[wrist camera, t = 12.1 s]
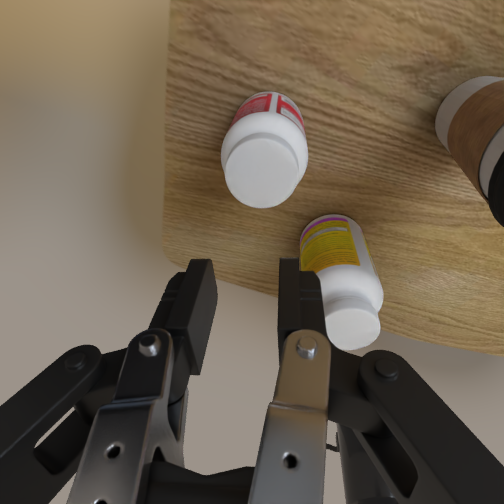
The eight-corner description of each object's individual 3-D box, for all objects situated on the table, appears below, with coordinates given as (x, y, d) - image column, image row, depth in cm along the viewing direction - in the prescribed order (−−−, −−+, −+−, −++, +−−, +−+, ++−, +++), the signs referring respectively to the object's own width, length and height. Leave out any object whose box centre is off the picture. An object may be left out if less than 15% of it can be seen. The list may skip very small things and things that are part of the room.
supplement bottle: (286, 242, 37) (286, 332, 27) (330, 199, 34) (349, 283, 23) (331, 273, 39) (347, 369, 29) (376, 236, 36) (413, 329, 25)
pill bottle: (229, 152, 32) (206, 207, 23) (240, 82, 29) (219, 114, 20) (293, 167, 32) (295, 227, 23) (312, 99, 29) (324, 139, 20)
